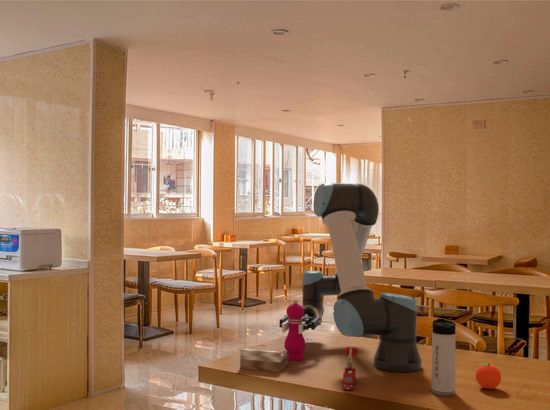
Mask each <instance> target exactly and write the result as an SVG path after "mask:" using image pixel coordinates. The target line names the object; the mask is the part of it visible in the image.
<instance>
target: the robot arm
mask: <svg viewBox="0 0 550 410" xmlns="http://www.w3.org/2000/svg"><path fill="white" fill-rule="evenodd" d="M312 205H313V206H312V207H313V208H312V209H313V213H314V215H315V216H316V217H318V218H319V217H320V218H321V220H322V221H321V222H322V224H323V225H324V226H326V227H327V228H328V233H329V238H330V244H331V248H332V253H333V259H334V264H335V269H336V273H335V275H324V274H323V272H322V271H320V270H306V271H304V272H303V275H302V283H301V284H302V300H301V301H302V304H301V306H302V307H303V308H304V315H303V316H302V319H303V320H302V323H301V324H300V325H299V334H301V333H302V334H303V332H304V331H308V330H309V329H310V330H312V331H314V330H316V328H317V327H318V326H321V325H322V317H323V315H324V312H325V311H324V306H323V296H327V297H328V296H337V298H336V299H337V300H336V301H335V302H334V305H333V307H332V308H333V319H334V323H335V326H336V328H337V329H338V332H340V333H341V335H343V336H345V337H347V338H348V337H354V338H360V337H368V336H369V337H370V336H379V342H378V345H377V347H376V351H375V354H374V357H373V365H374V367H375V368H377V369H380V370H383V371H387V372H392V373H393V372H396V373H409V372H410V373H412V372H418V371H420V370H421V369H422V368H423V367H422V358H421V354H420V352H419V348H418V345H417V318H418V317H417V314H418V309H417V307H418V306H417V301H416V299H415V298H413V297H412V296H407V295H404V294H396V293H390V292H381V293H380V295H379V297H378V298H377V297H376V298H375V295H374V291H373V290H372V289H371V288H370V287H368V286H367V280H366V277H365V273H364V272H365V271H364V267H363V263H362V257H363V254H364V252H365V248H366V246H367V242H368V239H369V236H370V233H371V230H372V227H373V226H375V225H376V224H377V220H378V217H379V202H378V198H377V195H376V194H375V193H374V191H373V190H372V189H371V188H370V187H369V186H367V185H365V184H362V183H345V182H344V183H341V182H337V183H336V182H325V183H324V182H322V183H321V184H319V185H318V186H317V188H316V191H315V193H314V197H313V204H312ZM288 318H289V317H288V315H287V314H285V315H284V316H283V317H282V318H280V319H279V323H278V324H279V328H281V333H282V334H283V333H286V332H287V331H289V323H288Z"/></svg>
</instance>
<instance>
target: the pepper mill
mask: <svg viewBox="0 0 550 410" xmlns="http://www.w3.org/2000/svg"><path fill="white" fill-rule="evenodd" d="M286 315H288V317H289V318H288V323H289V329H288V332H287V336H286V337H285V340H284V345H283V346H284V349H285V351H287V354H289V361H293V362H296V361H297V362H298V361H303V360H304V359H305V353H304V351H305V349H306V347H307V346H306V340H305V338H304V335H303V332H302V333H301V334H299V325H300V324H301V323H302V320H303V319H302V316H303V315H304V308H303V307H302V304H300V303H299V301H298V299H295V298H294V299H293V300H292V303H291V304H289V305H288V306H287V308H286Z"/></svg>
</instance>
